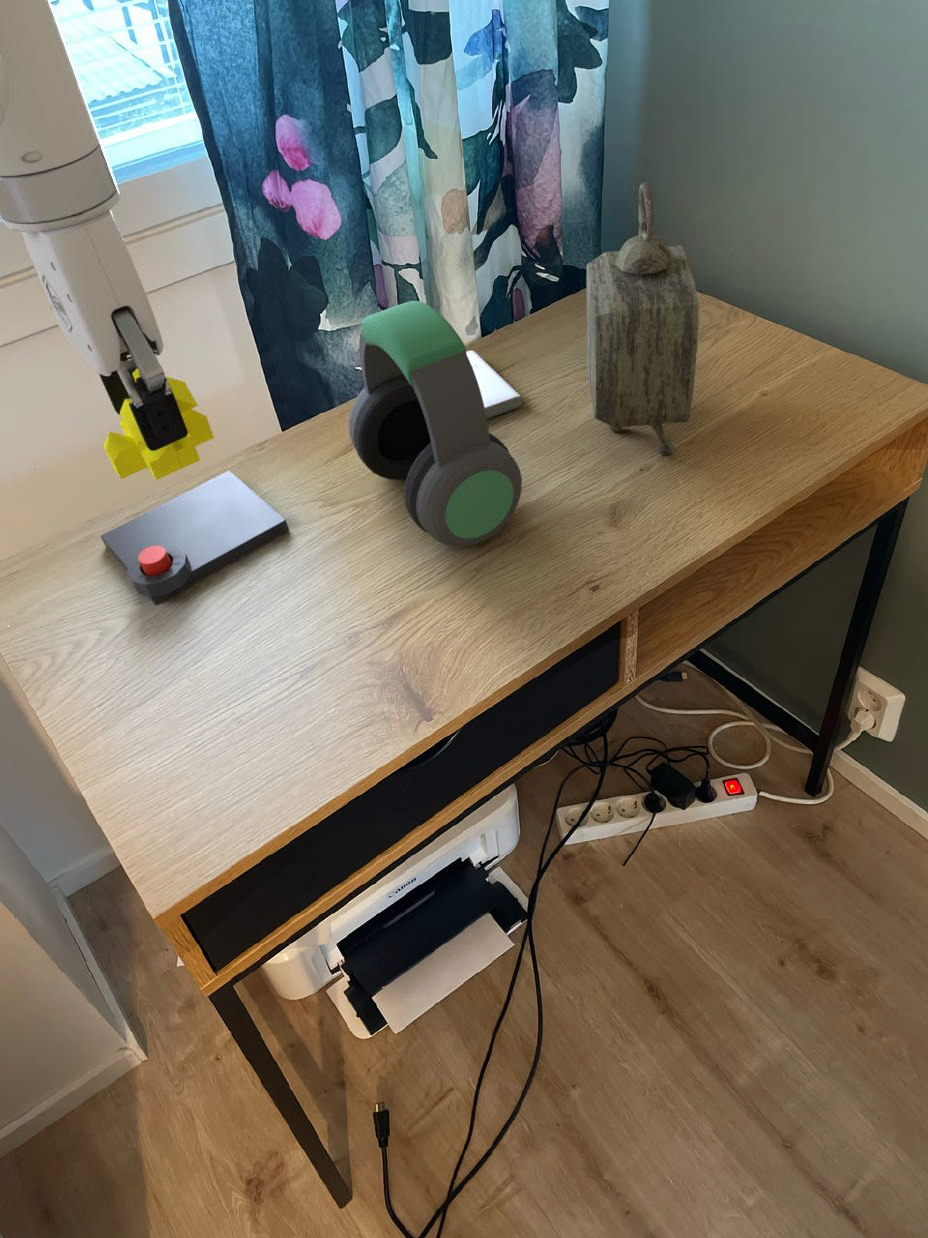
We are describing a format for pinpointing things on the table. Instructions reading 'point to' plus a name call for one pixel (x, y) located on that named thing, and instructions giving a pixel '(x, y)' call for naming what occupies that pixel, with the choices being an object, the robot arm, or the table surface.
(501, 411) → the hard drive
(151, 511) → the scale
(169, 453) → the yellow crystal cluster
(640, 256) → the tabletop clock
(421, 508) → the headphones
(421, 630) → the table surface
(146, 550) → the tare button
